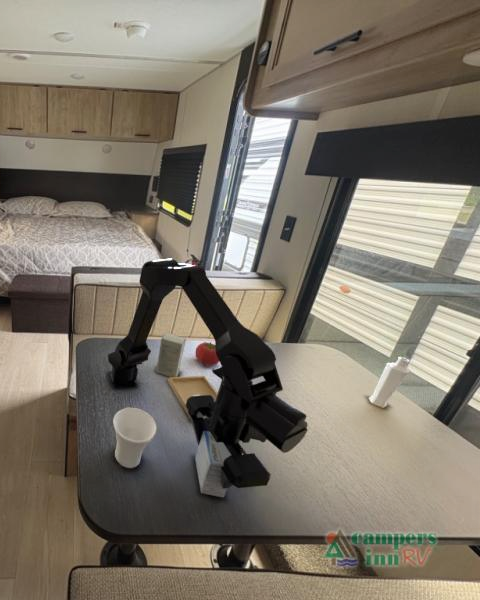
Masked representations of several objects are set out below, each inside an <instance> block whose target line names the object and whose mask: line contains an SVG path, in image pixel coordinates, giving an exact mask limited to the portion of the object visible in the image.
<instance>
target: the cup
mask: <svg viewBox="0 0 480 600" xmlns="http://www.w3.org/2000/svg"><path fill="white" fill-rule="evenodd" d="M112 424H113V428H114V432H115V438H116V447H115V450H114V457H115V459H116V462H117V463H118V464H119V465H120V466H122V467H124V468H127V469H133V468H136V467H137V466H139V464H140V463H141V458H142V455H143V453H144V450H145V448H146V447H147V446H148V445H149V444H150V442H151V441H152V440H153V439H154V438H155V436H156V435H157V430H158V429H157V423H156V421H155V419H154V418H153V416H152V415H150V414H149V413H148V412H146V411H144V410H143V409H140V408H136V407H123V408H122V409H120V410H118V411H117V412H116V413H115V414H114V416H113V419H112Z"/></svg>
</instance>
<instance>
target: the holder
mask: <svg viewBox="0 0 480 600" xmlns="http://www.w3.org/2000/svg"><path fill="white" fill-rule="evenodd" d="M167 383H168V384H169V386H170V388H171V390H172V391H173V393H174V394H175V396H176V399H177V400H178V402H179V403H180V405H181V407H182V408H183V410H184V411H185V413H186V415H187V417H188V419H189V420H190V421H191V419H190V416H189V414H188V409H187V408H186V402H187V399H188V398H189V397H191V396H201V395H212V396H213V397H214V398H215V400H216V397H217V394H218V391H217V390H216V389H215V387H214V386H213V385H212V384H211V382H210V381H209V380H208V378H207V377H206V376H205V375H191V376H189V375H188V376H177V377H169V376H168V379H167Z"/></svg>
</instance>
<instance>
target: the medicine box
mask: <svg viewBox="0 0 480 600" xmlns="http://www.w3.org/2000/svg"><path fill="white" fill-rule="evenodd" d="M230 455H231V454H230V453H229V451H228V450H227V448H226V447H225V445H224V443H222V442H218V443H217V442H216V441H215V439H214V437H213V436H212V434H211V433H210V432H208V431H203V433H202V436H201V440H200V443H199V445H198V447H197V451H196V454H195V456H194V457H195V458H194V460H195V466H196V471H197V477H198V483H199V489H200V493H201V494H205V495H208V496H209V495H210V496H212V497H213V496H214V497H218V498H225V496H226V492H227V491H228V488H226V489H223V488H222V484H221V466H223V462H224V459H226V458H227V457H229V456H230Z"/></svg>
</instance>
